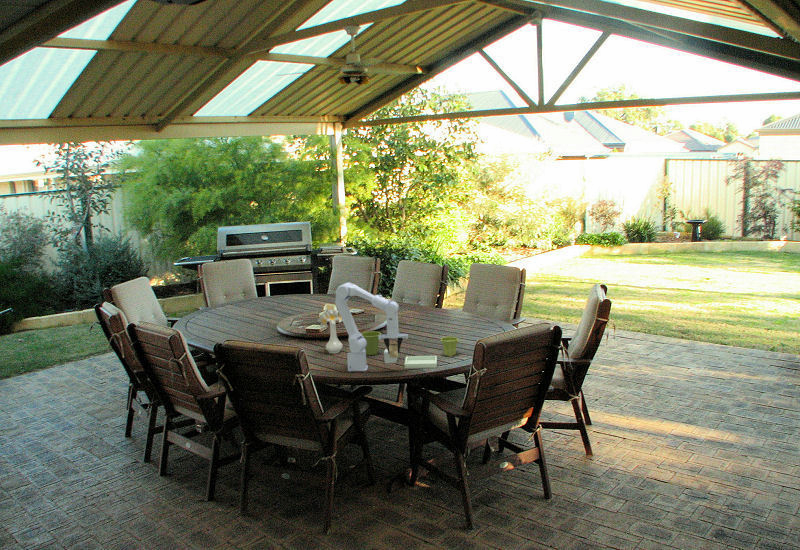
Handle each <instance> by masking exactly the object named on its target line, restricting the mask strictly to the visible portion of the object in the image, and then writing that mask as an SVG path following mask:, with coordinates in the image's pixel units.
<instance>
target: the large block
mask: <svg viewBox="0 0 800 550" xmlns="http://www.w3.org/2000/svg"><path fill="white" fill-rule="evenodd" d="M383 356H384V357H383V358H384V364H397V361H398V357H396V358H390V354H388V349H387V348H385V349H384V352H383Z"/></svg>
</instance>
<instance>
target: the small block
mask: <svg viewBox="0 0 800 550" xmlns="http://www.w3.org/2000/svg"><path fill="white" fill-rule="evenodd" d="M389 352H390V358H396V357H397V358H399V354H398V343H390V345H389Z"/></svg>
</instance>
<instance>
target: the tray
mask: <svg viewBox="0 0 800 550" xmlns="http://www.w3.org/2000/svg"><path fill="white" fill-rule="evenodd" d="M437 357H438V356H437V355H415V356H414V355H411V356H410V355H409V356H405V359H404V370H418V369H419V370H422V369H424V370H427V369H437V368H438V358H437Z"/></svg>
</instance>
